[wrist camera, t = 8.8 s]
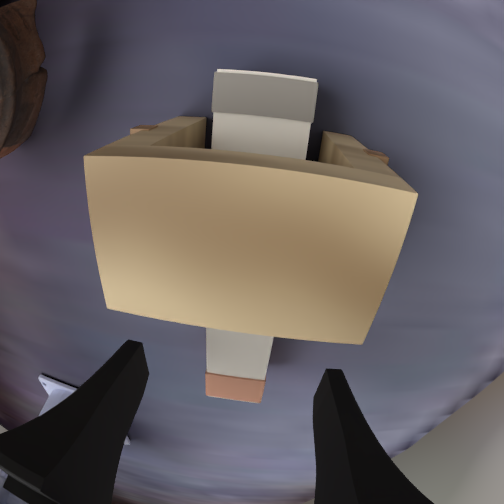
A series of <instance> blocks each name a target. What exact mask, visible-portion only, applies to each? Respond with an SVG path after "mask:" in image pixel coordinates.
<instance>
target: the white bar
mask: <svg viewBox="0 0 504 504" xmlns="http://www.w3.org/2000/svg"><path fill="white" fill-rule="evenodd" d="M316 81H317V79H312V78H306V77H299V76H292V75H284V74H276V73H266V72H256V71H243V70H227V69H217V72H214V84H213V97H212V110H211V112H214V116H213V130H212V146H211V149H215V150H227V151H237V152H247V153H256V154H265V155H273V156H280V157H288V158H295V159H302V160H306V153H307V147H308V140H309V133H310V126H311V123H313V120H314V113H315V106H316V98H317V91H318V83H317V82H316ZM273 338H274V337H272V336H264V335H256V334H248V333H241V332H234V331H227V330H220V329H214V328H207V327H206V356H207V369H206V373H205V380H206V395H207V396H211V397H217V398H224V399H231V400H238V401H245V402H253V403H261V399H262V395H263V391H264V386H265V381H266V371H267V367H268V362H269V357H270V353H271V348H272V343H273Z"/></svg>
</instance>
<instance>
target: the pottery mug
mask: <svg viewBox="0 0 504 504" xmlns="http://www.w3.org/2000/svg"><path fill="white" fill-rule="evenodd" d="M36 5H37V0H20V1H16V2H13V3H10V4H8V5H5V6H3V7H0V158H2V157H4V156H6V155H8V154H9V153H11V152H12V151H14V150H15V149H16V148H18V147H19V146H20V145H21V144H22V143H23V142H24V141H26V140H27V139H28V138H29V137H30V136H31V133H32V131H33V129H34V126H35V124H36V121H37V118H38V115H39V112H40V109H41V105H42V101H43V98H44V91H45V86H46V82H47V70H46V69H44V68H42V67H40V66H41V64H42V63H43V61H44V59H45V52H44V48H43V44H42V42H41V40H40V38H39V35H38V32H37V29H36V25H35V9H36Z"/></svg>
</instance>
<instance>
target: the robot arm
mask: <svg viewBox="0 0 504 504" xmlns="http://www.w3.org/2000/svg"><path fill="white" fill-rule="evenodd" d="M148 376H149V371H148V367H147V362H146V358H145V354H144V349H143V344H142V343H141V342H137V341H132V340H127V341H126V342H125V343H124V344H123V345H122V346H121V347H120V348H119V349H118V350H117V351H116V352H115V354H114V355H113V356H112V357H111V358H110V359H109V360H108V361H107V362H106V363H105V364H104V365H103V366H102V367H101V368H100V369H99V370H98V371H97V372H96V373H95V374H94V375H92V376H91V377H90V378H89V379H88V380H87V381H86V382H85V383H84V384H82V385H81V386H80V387H79V388H78V389H77V388H74V387H71V386H69V385H66V384H63V383H61V382H58V381H56V380H53V379H51V378H48V377H46V376H44V375H40V376H39V377H38V378H39V380H40V382H41V384H42V385H43V387H44V388H45V390H46V391H47V393H48V394H49V397H48V399H47V401H46V403H45V405H44V407H43V409H42V410H41V412H40V414H39V416H38V417H36V418H35V419H33V420H31V421H29V422H27V423H25V424H23V425H21V426H19V427H16V428H14V429H12V430H9V431H7V432H4V433H2V434H0V504H111V502H112V495H113V489H114V483H115V478H116V473H117V468H118V464H119V460H120V456H121V452H122V448H123V445H124V444H126V445H130V440H129V438H128V436H127V434H128V431H129V429H130V426H131V424H132V421H133V419H134V416H135V414H136V412H137V409H138V407H139V404H140V402H141V399H142V397H143V394H144V391H145V387H146V383H147V380H148ZM313 429H314V443H315V456H316V489H315V501H314V504H434V503H433V502H432V501H430V500H429V499H428V498H427V497H425V496H424V495H423V494H422V493H421V492H420V491H419V490H418V489H417V488H416V487H415V486H414V485H413V484H412V483H411V482H410V481H409V480H408V479H407V478H406V477H405V475H404V474H403V473H402V472H401V471H400V470H399V469H398V467H397V466H396V465H395V464H394V463H393V461H392V460H391V459H390V457H389V456H388V455H387V453H386V452H385V450H384V449H383V448H382V446H381V445H380V443H379V442H378V440H377V438H376V437H375V435H374V433H373V432H372V430H371V428H370V427H369V425H368V423H367V421H366V420H365V418H364V416H363V414H362V412H361V410H360V408H359V406H358V404H357V402H356V400H355V398H354V396H353V394H352V391H351V389H350V387H349V385H348V382H347V380H346V378H345V375H344V373H343V371H342V370H341V369H326V370H325V373H324V375H323V377H322V379H321V382H320V384H319V386H318V389H317V391H316V393H315V395H314V401H313Z"/></svg>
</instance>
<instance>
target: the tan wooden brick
mask: <svg viewBox="0 0 504 504" xmlns="http://www.w3.org/2000/svg"><path fill="white" fill-rule="evenodd" d="M206 118H207V117H186V116H178V117H176V118H173V119H170V120H167V121H164V122H162V123H159V124H156V125H139V126H137V127H134V128H131V129H130V135H129V136H127V137H124V138H122V139H119V140H117V141H115V142H113V143H110V144H108V145H106V146H104V147H102V148H99V149H97V150H95V151H93V152H91V153H89V154H87V155H85V156H84V168H85V179H86V189H87V198H88V207H89V214H90V221H91V228H92V235H93V241H94V247H95V252H96V258H97V263H98V268H99V273H100V278H101V283H102V287H103V292H104V296H105V301H106V305H107V308H108V309H112V310H117V311H121V312H126V313H131V314H136V315H141V316H146V317H151V318H156V319H161V320H166V321H172V322H177V323H183V324H189V325H195V326H201V327H207V328H214V329H220V330H227V331H234V332H241V333H248V334H256V335H264V336H272V337H281V338H290V339H299V340H310V341H321V342H333V343H346V344H361V345H362V344H363V342H364V340H365V337H366V335H367V333H368V331H369V329H370V326H371V324H372V322H373V320H374V317H375V315H376V313H377V310H378V308H379V305H380V303H381V301H382V298H383V296H384V293H385V291H386V288H387V286H388V283H389V281H390V278H391V275H392V273H393V270H394V267H395V265H396V262H397V259H398V256H399V253H400V251H401V248H402V245H403V242H404V239H405V236H406V233H407V230H408V227H409V224H410V220H411V217H412V214H413V211H414V207H415V204H416V200H417V197H418V193H417V192H416V191H415V190H414V189H413V188H412V187H410V186H409V185H408V184H407V183H406V182H405V181H404V180H403V179H402V178H401V177H400V176H398V175H397V174H396V173H395V172H394V171H393V170H392V169H391V168H389V167H388V166H387V165H388V161H389V157H387V156H386V155H385V154H383V153H382V152H378V151H373V150H369V149H367V148H366V147H365V146H363V145H362V144H361V143H360V142H358V141H357V140H356V139H355V138H353V137H352V136H349V135H344V134H339V133H333V132H328V131H323V135H322V141H321V148H320V154H319V160H318V162H315V161H309V160H302V159H295V158H288V157H280V156H273V155H265V154H256V153H247V152H237V151H227V150H215V149H205V134H206Z"/></svg>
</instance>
